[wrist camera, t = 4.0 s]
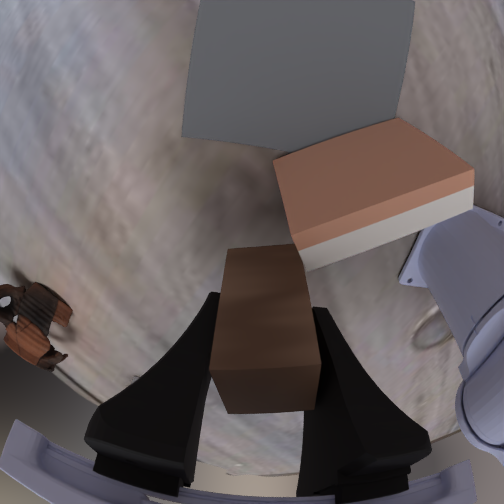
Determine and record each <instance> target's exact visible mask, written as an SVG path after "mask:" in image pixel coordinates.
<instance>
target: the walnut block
mask: <svg viewBox="0 0 504 504" xmlns="http://www.w3.org/2000/svg"><path fill="white" fill-rule="evenodd" d="M320 369H321V359H320V353H319V347H318V341H317V335H316V330H315V324H314V318H313V313H312V307H311V302H310V297H309V292H308V287H307V281H306V276H305V271H304V267H303V262H302V259H301V257H300V254H299V252H298V250H297V248H296V245H295V244H285V245H272V246H260V247H247V248H234V249H228V251H227V257H226V263H225V269H224V275H223V281H222V287H221V294H220V300H219V306H218V313H217V319H216V326H215V332H214V339H213V345H212V352H211V359H210V366H209V371H210V373H211V376H212V378H213V381H214V383H215V385H216V388H217V390H218V392H219V395H220V397H221V399H222V401H223V404H224V406H225V408H226V410H227V413H228V414H259V413H281V412H295V411H306V410H314V408H315V402H316V396H317V389H318V383H319V376H320Z"/></svg>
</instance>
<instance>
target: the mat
mask: <svg viewBox="0 0 504 504" xmlns="http://www.w3.org/2000/svg"><path fill="white" fill-rule="evenodd" d="M414 9H415V1H413V0H201V1H200V6H199V11H198V16H197V21H196V27H195V33H194V38H193V45H192V51H191V58H190V65H189V72H188V79H187V88H186V96H185V105H184V115H183V125H182V137H189V138H199V139H208V140H216V141H224V142H232V143H239V144H246V145H252V146H259V147H265V148H271V149H276V150H282V151H287V152H292V153H294V152H296V151H299V150H302V149H304V148H307V147H310V146H312V145H315V144H318V143H321V142H323V141H326V140H329V139H332V138H335V137H338V136H341V135H344V134H347V133H350V132H353V131H356V130H359V129H362V128H365V127H368V126H372V125H375V124H378V123H381V122H385V121H388V120H391V119H394V118H395V113H396V109H397V105H398V101H399V97H400V92H401V87H402V83H403V78H404V73H405V68H406V62H407V57H408V51H409V45H410V39H411V32H412V25H413V17H414Z"/></svg>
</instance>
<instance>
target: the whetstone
mask: <svg viewBox="0 0 504 504" xmlns="http://www.w3.org/2000/svg"><path fill="white" fill-rule="evenodd" d="M273 165H274V169H275V172H276V176H277V180H278V184H279V188H280V192H281V196H282V200H283V204H284V208H285V212H286V216H287V220H288V225H289V229H290V233H291V236H292V239H293V241H294V243H295V245H296V248H297V250H298V252H299V254H300V257H301V259H302V261H303V263H304V266H305V268H306V270H307V272H309V271H312V270H314V269H317V268H320V267H323V266H326V265H329V264H331V263H334V262H337V261H340V260H343V259H345V258H348V257H351V256H354V255H356V254H359V253H362V252H364V251H367V250H370V249H373V248H375V247H378V246H381V245H383V244H386V243H388V242H391V241H394V240H396V239H399V238H401V237H404V236H407V235H409V234H412V233H414V232H417V231H419V230H422V229H424V228H427V227H429V226H432V225H434V224H437V223H439V222H442V221H444V220H447V219H449V218H451V217H454V216H456V215H459V214H461V213H463V212H466V211H468V210H471V209H473V199H474V168H473V167H471V166H470V165H469V164H468V163H466V162H465V161H464V160H462V159H461V158H460V157H458V156H457V155H456V154H454V153H453V152H451V151H450V150H449V149H447V148H446V147H444V146H443V145H441V144H440V143H439V142H437V141H436V140H434V139H433V138H431V137H429V136H428V135H426V134H425V133H423V132H422V131H420V130H418V129H417V128H415V127H414V126H412V125H410V124H409V123H407V122H405V121H403V120H402V119H400V118H395V119H391V120H388V121H385V122H381V123H378V124H375V125H372V126H368V127H365V128H362V129H359V130H356V131H353V132H350V133H347V134H344V135H341V136H338V137H335V138H332V139H329V140H326V141H323V142H321V143H318V144H315V145H312V146H310V147H307V148H304V149H302V150H299V151H296V152H294V153H291V154H288V155H286V156H283V157H281V158H278V159H276V160H273Z"/></svg>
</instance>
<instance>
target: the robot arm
mask: <svg viewBox="0 0 504 504" xmlns="http://www.w3.org/2000/svg"><path fill="white" fill-rule="evenodd" d="M410 278H411V279H410ZM408 279H409V280H408ZM398 280H399V282H400V283H401V284H403V285H410V286H417V287H424V288H429V290H430V292H431V294H432V296H433V297H434V299H435V301H436V303H437V305H438V306H439V308H440V310H441V312H442V314H443V316H444V318H445V320H446V322H447V324H448V326H449V328H450V330H451V332H452V334H453V336H454V338H455V340H456V342H457V344H458V346H459V349H460V351H461V353H462V355H463V357H464V358H463V361H462V363H461V364H460V365H459V367H458V368H459V370H460V373H461V375H462V378H463V381H462V383H461V384H460V386H459V388H458V390H457V394H456V400H455V411H456V417H457V420H458V424H459V426H460V428H461V431H462V432H463V434H464V436H465V437H466V438H467V440H468V441H469V442H470V443H471V444H472V445H474V446H475V447H476V448H478V449H480V450H483V451H486V452H489V453H491V454H493V455H494V456H495V457H496V458H497V459H498V460H499V461H500V462H501V463H502V465H503V466H504V218H503V217H501V216H499V215H496V214H494V213H492V212H490V211H487V210H485V209H483V208H480V207H478V206H476V205H473V209H471V210H468V211H466V212H463V213H461V214H459V215H456V216H454V217H451V218H449V219H447V220H444V221H442V222H439V223H437V224H434V225H432V226H429V227H427V228H424V229H422V230H421V231H420V233H419V236H418V238H417V240H416V242H415V245H414V247H413V249H412V251H411V253H410V255H409V257H408V259H407V261H406V263H405V265H404V267H403V269H402V271H401V273H400V275H399V278H398ZM220 294H221V293H218V292H210V293H209V295H208V297H207V299H206V301H205V303H204V304H203V306H202V308H201V309H200V311H199V312H198V314H197V316H196V317H195V318H194V320H193V321H192V323H191V324H190V325H189V327H188V328H187V329H186V331H185V332H184V333H183V334H182V336H181V337H180V338H179V339H178V341H177V342H176V343H175V344H174V345H173V346H172V347H171V349H170V350H169V351H168V352H167V353H166V354H165V355H164V356H163V357H162V358H161V359H160V360H159V361H158V362H157V363H156V364H155V365H154V366H153V367H151V368H150V369H149V370H148V371H147V372H146V373H145V374H144V375H142V376H141V377H140V378H139V379H137V380H136V381H135V382H133V383H132V384H131V385H129V386H128V387H127V388H126V389H124V390H123V391H121V392H120V393H118V394H117V395H115V396H114V397H112V398H110V399H109V400H107V401H106V402H104V403H103V404H101V405H99V406H98V408H97V409H96V411H95V413H94V414H93V416H92V418H91V420H90V422H89V424H88V427H87V431H86V433H85V437H84V440H85V442H86V443H87V444H88V445H89V446H90V447H91V448H92V449H93V450H95V451H96V452H97V457H96V460H95V461H92V460H90V459H87V458H85V457H83V456H80V455H78V454H76V453H73V452H71V451H69V450H67V449H65V448H62V447H61V446H59V445H57V444H55V443H52V442H50V441H49V440H48V439H47V438H46V437H45V436H43V435H42V434H41V433H39V432H38V431H36V430H34V429H33V428H31V427H29V426H27V425H26V424H24V423H22V422H21V421H19V420H17V419H16V420H15V421H14V424H13V426H12V428H11V431H10V433H9V436H8V438H7V441H6V444H5V447H4V449H3V452H2V455H1V458H0V469H1V470H2V471H4V472H5V473H6V474H8V475H9V476H11V477H12V478H13V479H15V480H16V481H18V482H19V483H21V484H22V485H23V486H25V487H26V488H28V489H30V490H31V491H33V492H34V493H35V494H37V495H39V496H40V497H42V498H43V499H45V500H47V501H48V502H50V503H51V504H161V503H158V502H154V501H150V500H149V498H148V497H147V496H146V495H148V496H152V497H155V498H159V499H163V500H168V501H172V502H177V503H181V504H473V503H475V502H476V501H477V496H476V490H475V484H474V479H473V473H472V468H471V463H470V460H469V459H468V460H466V461H463V462H460V463H458V464H455V465H453V466H451V467H448V468H446V469H445V470H442V471H441V472H439V473H436V474H433V475H430V476H427V477H424V478H420V479H416V480H413V481H409V482H408V477H407V474H410V472H411V468H410V465H412V464H414V463H416V462H418V461H420V460H421V459H423V458H425V457H426V456H428V455H429V454H430V453H431V451H432V448H431V443H430V439H429V435H428V431H427V430H425V429H424V428H423V427H421V426H420V425H419V424H417V423H416V422H415V421H413V420H412V419H411V418H409V417H408V416H407V415H406V414H405V413H404V412H403V411H401V410H400V409H399V408H398V407H397V406H396V405H395V404H394V403H393V402H392V401H391V400H390V399H389V398H388V397H387V396H386V395H385V394H384V393H383V392H382V391H381V389H380V388H379V387H378V386H377V385H376V384H375V382H374V381H373V380H372V379H371V377H370V376H369V375H368V374H367V372H366V371H365V370H364V368H363V367H362V365H361V364H360V363H359V361H358V360H357V358H356V357H355V355H354V354H353V352H352V350H351V349H350V347H349V345H348V344H347V342H346V341H345V339H344V337H343V335H342V334H341V332H340V330H339V329H338V327H337V325H336V323H335V321H334V320H333V318H332V316H331V314H330V313H329V311H328V309H327V308H321V307H313V308H312V313H313V318H314V324H315V330H316V335H317V341H318V347H319V353H320V359H321V369H320V376H319V383H318V389H317V396H316V402H315V408H314V410H306V411H304V428H303V444H302V456H301V465H300V473H299V480H298V486H297V491H296V497H254V496H240V495H230V494H221V493H213V492H206V491H200V490H194V489H188V488H183V486H185V487H190V485H191V483H192V482H193V481H194V473H195V466H196V459H197V452H198V445H199V438H200V432H201V425H202V419H203V412H204V406H205V401H206V396H207V392H208V388H209V384H210V381H211V377H212V376H211V373H210V371H209V366H210V359H211V352H212V345H213V339H214V332H215V326H216V319H217V313H218V306H219V300H220Z"/></svg>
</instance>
